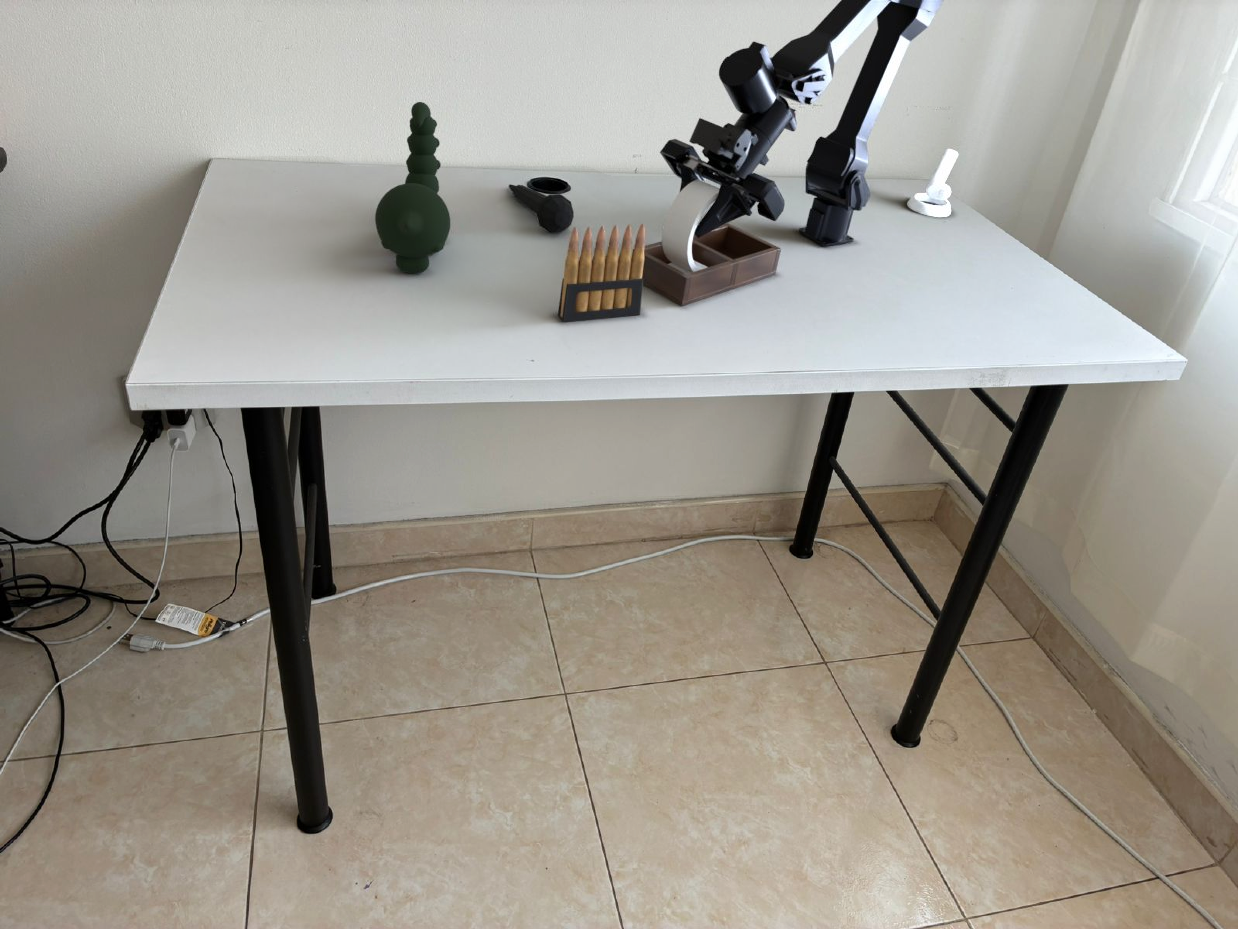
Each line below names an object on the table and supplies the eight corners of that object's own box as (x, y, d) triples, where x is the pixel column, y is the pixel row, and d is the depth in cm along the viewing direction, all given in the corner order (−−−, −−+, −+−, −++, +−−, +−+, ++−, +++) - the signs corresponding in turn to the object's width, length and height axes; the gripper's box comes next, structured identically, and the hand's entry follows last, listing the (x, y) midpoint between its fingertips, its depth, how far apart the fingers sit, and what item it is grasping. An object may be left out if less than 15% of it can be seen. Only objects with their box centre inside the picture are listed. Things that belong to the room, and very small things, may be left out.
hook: (965, 171, 170) (978, 160, 163) (937, 232, 171) (949, 223, 164) (927, 154, 171) (939, 142, 164) (899, 215, 171) (909, 206, 164)
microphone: (500, 209, 153) (552, 244, 138) (489, 175, 149) (541, 207, 134) (530, 196, 154) (584, 229, 139) (520, 162, 151) (574, 192, 136)
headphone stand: (710, 274, 131) (724, 190, 124) (682, 285, 127) (694, 199, 120) (685, 262, 133) (697, 178, 126) (657, 273, 130) (667, 188, 122)
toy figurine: (391, 227, 139) (369, 288, 118) (388, 91, 129) (364, 131, 108) (456, 232, 140) (446, 293, 119) (458, 97, 130) (447, 138, 109)
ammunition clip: (562, 322, 118) (570, 231, 111) (557, 315, 119) (565, 224, 112) (640, 314, 122) (652, 226, 115) (634, 308, 123) (646, 220, 116)
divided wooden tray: (723, 248, 142) (728, 222, 140) (775, 274, 137) (781, 248, 134) (628, 276, 131) (632, 248, 128) (681, 306, 125) (686, 278, 123)
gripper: (679, 75, 124) (609, 172, 124) (789, 117, 114) (713, 222, 114) (710, 128, 133) (645, 218, 133) (814, 171, 123) (744, 268, 123)
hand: (683, 230), depth 125 cm, fingers closed on headphone stand, 4 cm apart
